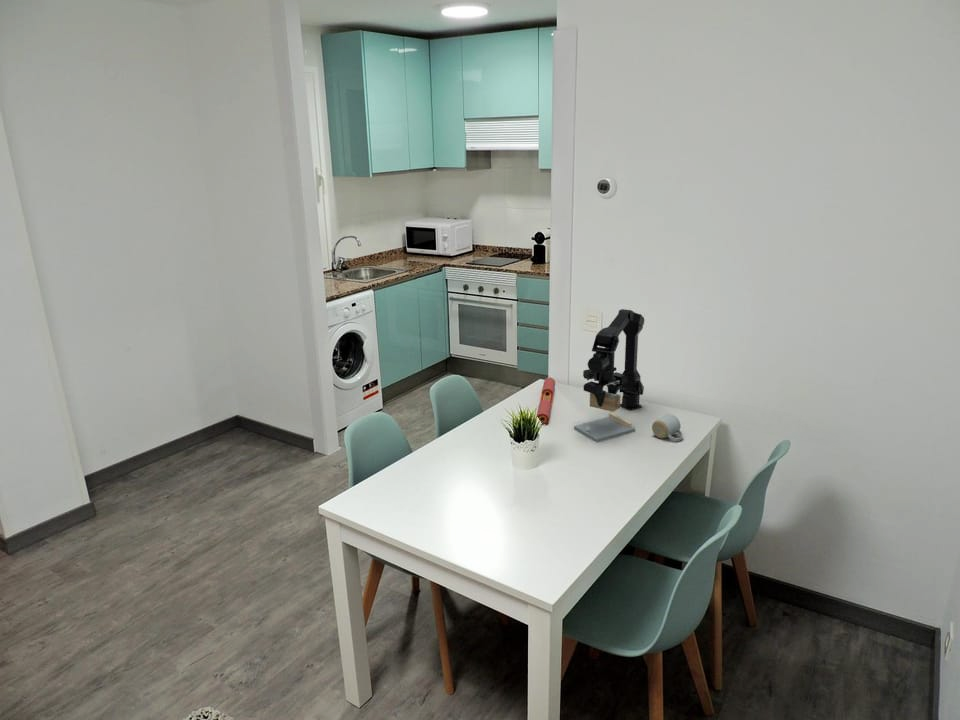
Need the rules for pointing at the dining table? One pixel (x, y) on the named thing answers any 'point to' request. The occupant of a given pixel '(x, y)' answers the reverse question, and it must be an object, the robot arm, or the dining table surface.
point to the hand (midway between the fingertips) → (605, 404)
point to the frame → (606, 402)
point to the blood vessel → (546, 400)
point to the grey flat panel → (605, 428)
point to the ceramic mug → (667, 427)
